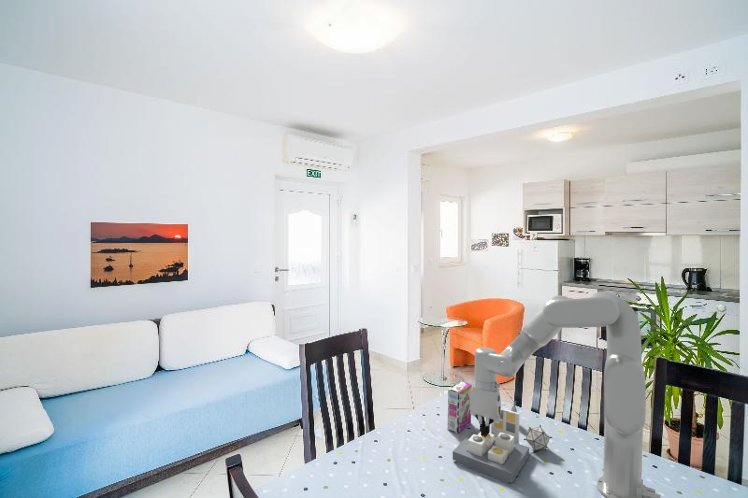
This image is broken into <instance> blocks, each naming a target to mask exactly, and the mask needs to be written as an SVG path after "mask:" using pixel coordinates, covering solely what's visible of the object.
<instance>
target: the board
mask: <svg viewBox="0 0 748 498" xmlns="http://www.w3.org/2000/svg"><path fill="white" fill-rule="evenodd" d="M479 433H480V430H477V429H473V430H472V431H470V433H469V434H468V435H467V436H466V437H465V438H464V439H463V440H462V441H461V442H460V443H459V444H458V445H457V446H456V447H455V448H454V450H452V460H453V461H455V464H458V465H461V466H463V467H466V468H469V469H471V470H474V471H476V472H479V473H481V474H483V475H487V476H489V477H492V478H493V479H494V478H495V479H496V480H499V481H502V482H505V483H506V484H513V482H514V481H515V479H516V478H517V477H518V475H519V473H520V471H521V470H522V469H523V466H524V465H525V464H526V461H528V460H527V459H529V456H530V447H529V446H526V445H524V444H523V445H522V444H520V443H519V444H517V443H514V451H513V452H512V454H511V455H509V454H508V459H507V461H506V462H505V464H504V465H502V464H499V463H496V462H494V461H491V460H488V452H489V450H490V449H491V448H492V447H493V446H496V437H495V436H494V444H493V445H492V446H491V447H490V448H489V447H487V452H486V453H485V455H484V456H483V457H480V456H477V455H475V454H472V453H469V452H468V440H469V438H470V437H471V436H472V435H473V434H475V435H478V434H479Z"/></svg>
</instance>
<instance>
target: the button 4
mask: <svg viewBox="0 0 748 498" xmlns="http://www.w3.org/2000/svg"><path fill="white" fill-rule="evenodd" d="M507 459H508V451H507V450H504V449H502V448H499V447H496V446H493V447H492V448H491V449H490V450H489V452H488V460H491V461H494V462H496V463H499V464H502V465H504V464H505V462H506V461H507Z"/></svg>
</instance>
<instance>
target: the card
mask: <svg viewBox="0 0 748 498" xmlns="http://www.w3.org/2000/svg"><path fill="white" fill-rule="evenodd" d="M500 420H501V421H500V422H499V423H494V422H493V423H491V424H490V427H491V429H490V430H491V431H490V432H491V433H490V434H493V435H494V436H495V437H497V436H498V435H499V433H500V432H502V433H505V434H508V435H511V436H514V443H517V444H520V413H519V412H513V411H511V410H510V409H506V408H502V407H501V415H500Z"/></svg>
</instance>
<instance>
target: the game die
mask: <svg viewBox="0 0 748 498" xmlns="http://www.w3.org/2000/svg"><path fill="white" fill-rule="evenodd" d="M527 431H528V433H527V435H526V438H523V441H526V442H527V443H528V445H530V446H531V448H532V449H533V450H534V451H533V453H534V454H536V451H540V450H544V451H548V450H547V449H549V447H548V444H549V441H550V439H553V436H549V435H548V433H547V432H546V431H545V430H544V429H543V428H542V424H540V425H539V426H537V427H533V428H532V427H531V426H528V429H527Z"/></svg>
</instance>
